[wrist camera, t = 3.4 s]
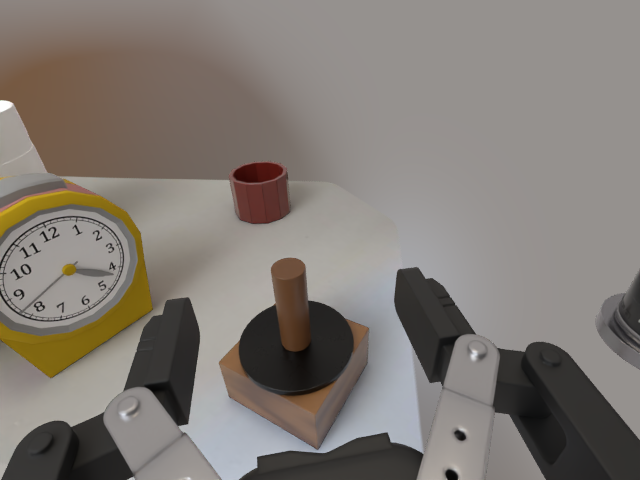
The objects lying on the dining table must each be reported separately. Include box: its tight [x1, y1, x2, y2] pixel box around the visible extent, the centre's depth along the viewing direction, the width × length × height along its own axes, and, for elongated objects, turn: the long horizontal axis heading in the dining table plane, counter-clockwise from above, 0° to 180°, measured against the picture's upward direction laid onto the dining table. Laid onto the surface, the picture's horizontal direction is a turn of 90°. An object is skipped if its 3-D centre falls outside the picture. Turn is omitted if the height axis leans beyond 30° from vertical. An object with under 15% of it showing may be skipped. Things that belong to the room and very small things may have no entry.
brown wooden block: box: [219, 303, 369, 449], centre depth 34 cm, size 10×10×5 cm
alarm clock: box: [0, 173, 153, 378], centre depth 36 cm, size 15×8×18 cm, turn 144°
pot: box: [229, 161, 291, 224], centre depth 61 cm, size 9×9×7 cm
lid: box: [239, 258, 354, 396], centre depth 30 cm, size 10×10×9 cm
